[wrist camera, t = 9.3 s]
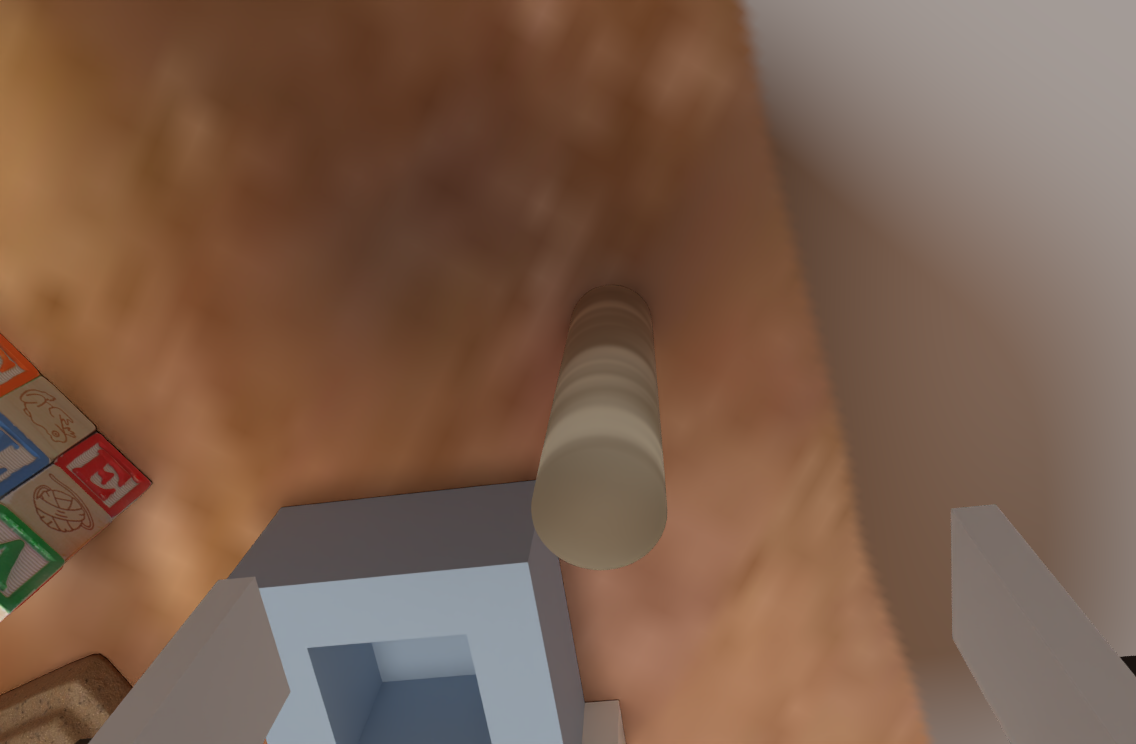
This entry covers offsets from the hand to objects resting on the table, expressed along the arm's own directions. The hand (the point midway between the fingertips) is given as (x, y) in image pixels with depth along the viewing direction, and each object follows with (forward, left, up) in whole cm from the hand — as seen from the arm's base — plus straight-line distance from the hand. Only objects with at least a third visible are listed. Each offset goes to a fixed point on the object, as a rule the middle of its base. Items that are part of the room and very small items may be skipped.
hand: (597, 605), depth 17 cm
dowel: (0, 0, -17) cm, 17 cm away
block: (+11, -9, -17) cm, 22 cm away
